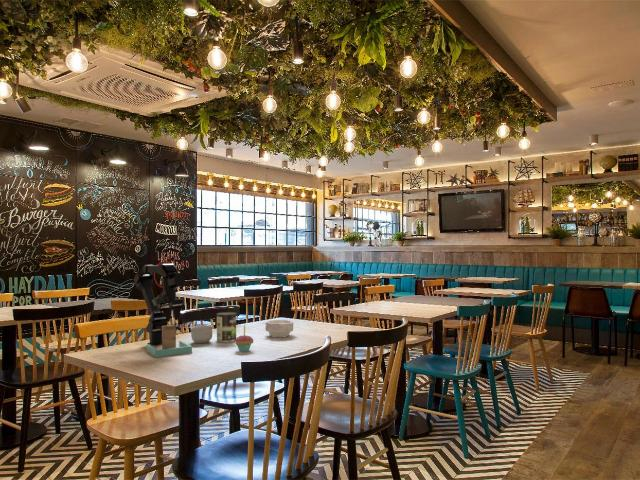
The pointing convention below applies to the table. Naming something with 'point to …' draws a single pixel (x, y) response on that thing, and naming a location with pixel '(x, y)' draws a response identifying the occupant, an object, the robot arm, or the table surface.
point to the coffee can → (226, 326)
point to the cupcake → (244, 342)
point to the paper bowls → (279, 327)
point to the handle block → (168, 336)
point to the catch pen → (170, 350)
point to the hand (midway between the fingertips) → (172, 321)
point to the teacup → (201, 333)
